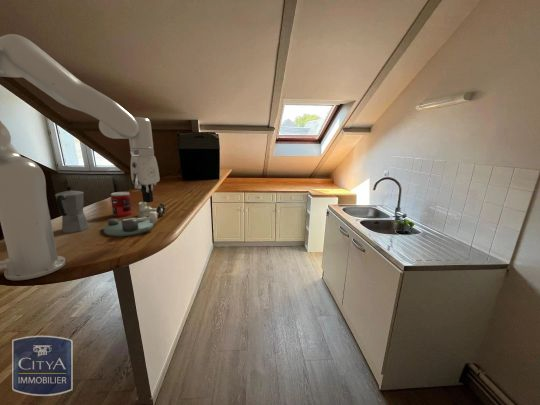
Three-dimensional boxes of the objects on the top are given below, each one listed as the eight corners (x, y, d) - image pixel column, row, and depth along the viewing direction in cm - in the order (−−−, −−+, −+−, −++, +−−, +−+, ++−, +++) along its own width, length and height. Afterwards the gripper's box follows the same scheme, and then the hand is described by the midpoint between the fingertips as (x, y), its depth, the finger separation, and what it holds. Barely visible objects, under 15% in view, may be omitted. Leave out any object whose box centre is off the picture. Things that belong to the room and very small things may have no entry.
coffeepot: (70, 224, 106) (63, 183, 102) (95, 223, 108) (89, 183, 104) (49, 237, 92) (40, 190, 87) (78, 235, 94) (70, 190, 90)
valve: (135, 217, 119) (159, 218, 118) (134, 204, 117) (158, 205, 116) (143, 213, 125) (166, 214, 124) (142, 201, 124) (165, 202, 123)
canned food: (114, 213, 124) (111, 192, 121) (132, 212, 127) (130, 191, 124) (112, 217, 117) (109, 195, 114) (131, 216, 120) (128, 194, 118)
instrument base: (104, 239, 91) (103, 230, 90) (103, 225, 105) (102, 218, 105) (156, 231, 101) (155, 223, 100) (149, 219, 115) (148, 212, 114)
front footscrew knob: (123, 232, 94) (121, 218, 92) (122, 228, 98) (120, 214, 97) (159, 227, 101) (157, 213, 99) (156, 223, 105) (155, 210, 104)
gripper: (137, 154, 81) (143, 207, 86) (164, 152, 95) (168, 197, 100) (117, 154, 83) (125, 206, 87) (147, 151, 97) (152, 196, 101)
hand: (148, 201), depth 94 cm, fingers closed
